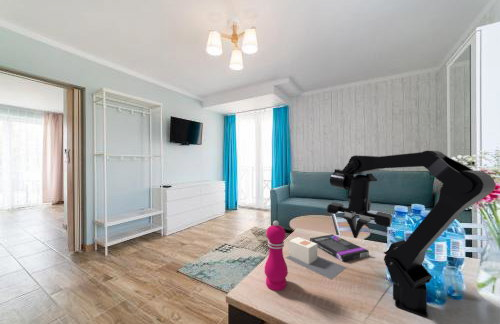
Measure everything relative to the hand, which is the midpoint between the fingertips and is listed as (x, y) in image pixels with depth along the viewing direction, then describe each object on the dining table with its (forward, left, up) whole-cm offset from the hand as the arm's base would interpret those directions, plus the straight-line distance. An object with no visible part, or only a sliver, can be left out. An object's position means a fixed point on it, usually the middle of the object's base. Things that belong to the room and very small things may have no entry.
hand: (355, 237), depth 67 cm
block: (+14, +1, -9) cm, 17 cm away
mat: (+14, +2, -12) cm, 19 cm away
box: (+10, -16, -13) cm, 23 cm away
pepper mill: (+19, +21, -13) cm, 31 cm away
